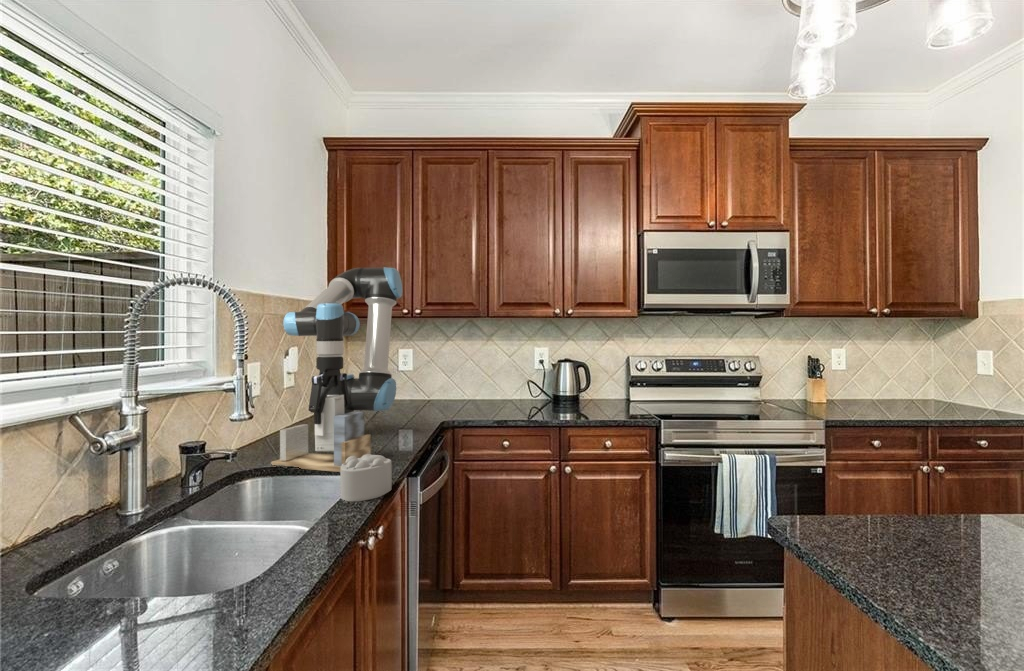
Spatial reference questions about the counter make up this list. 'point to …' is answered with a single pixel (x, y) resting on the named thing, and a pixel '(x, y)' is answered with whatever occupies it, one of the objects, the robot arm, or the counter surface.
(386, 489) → the lumpy-topped squat cylinder
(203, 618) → the counter surface
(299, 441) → the grey rectangular slab
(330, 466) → the book rack
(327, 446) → the skincare box
